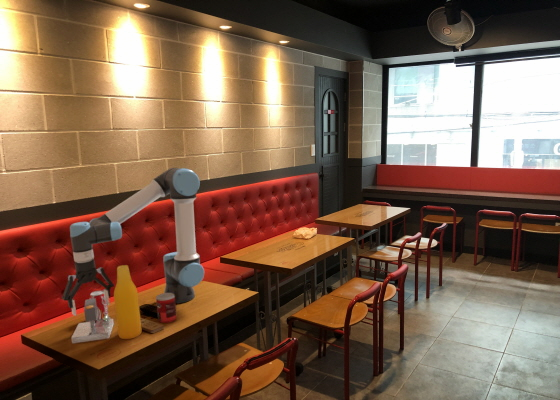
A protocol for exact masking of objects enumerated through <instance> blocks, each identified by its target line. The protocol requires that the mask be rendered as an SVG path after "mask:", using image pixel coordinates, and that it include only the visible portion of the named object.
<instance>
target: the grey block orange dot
mask: <svg viewBox="0 0 560 400" xmlns="http://www.w3.org/2000/svg"><path fill="white" fill-rule="evenodd" d="M83 311H84V318H85V319H84V321H85V322H90V326H91V328H94V327H95V321H96V317H97V305H96V298H94V299H85V301H84V307H83Z"/></svg>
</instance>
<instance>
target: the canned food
mask: <svg viewBox="0 0 560 400" xmlns="http://www.w3.org/2000/svg"><path fill="white" fill-rule="evenodd" d="M155 302H156V311H157V318H158V322H159V323H162V324H169V323H172V322H175V321H177V317H178V316H177V307H176V306H177V305H176V303H175V296H174V294H173V293H164V292H163V293H160V294H158V295H156V297H155Z"/></svg>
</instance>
